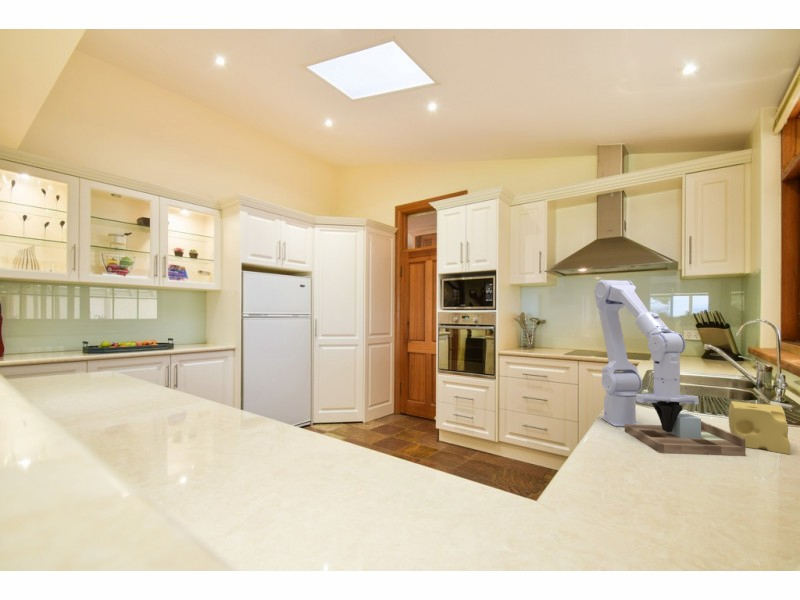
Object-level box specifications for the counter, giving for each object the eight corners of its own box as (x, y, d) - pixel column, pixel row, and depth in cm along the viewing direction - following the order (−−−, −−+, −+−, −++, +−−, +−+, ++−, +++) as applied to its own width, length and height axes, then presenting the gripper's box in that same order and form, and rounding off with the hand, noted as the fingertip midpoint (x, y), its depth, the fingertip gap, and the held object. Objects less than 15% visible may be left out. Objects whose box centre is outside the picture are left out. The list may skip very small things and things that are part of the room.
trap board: (624, 431, 111) (624, 417, 111) (696, 433, 110) (696, 419, 110) (659, 452, 94) (659, 436, 94) (745, 455, 93) (745, 438, 93)
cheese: (790, 455, 93) (789, 413, 94) (731, 445, 100) (730, 406, 100) (782, 443, 102) (781, 405, 102) (728, 435, 108) (728, 399, 108)
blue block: (668, 431, 104) (668, 412, 104) (688, 432, 104) (688, 413, 104) (680, 437, 99) (680, 418, 99) (701, 438, 99) (700, 418, 99)
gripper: (645, 380, 99) (646, 434, 98) (706, 381, 98) (707, 436, 97) (631, 376, 106) (632, 426, 106) (688, 377, 105) (688, 428, 104)
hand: (667, 431), depth 102 cm, fingers closed
